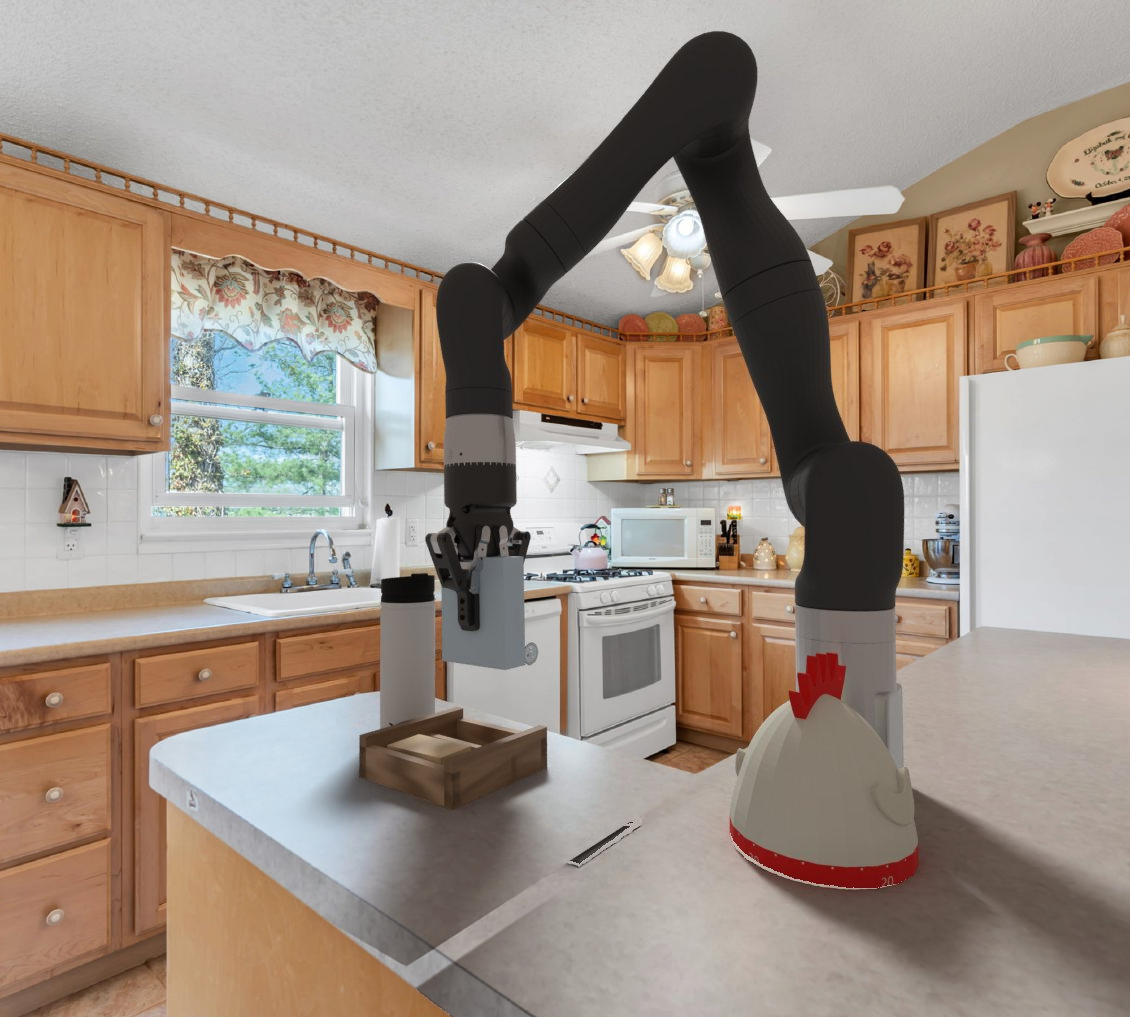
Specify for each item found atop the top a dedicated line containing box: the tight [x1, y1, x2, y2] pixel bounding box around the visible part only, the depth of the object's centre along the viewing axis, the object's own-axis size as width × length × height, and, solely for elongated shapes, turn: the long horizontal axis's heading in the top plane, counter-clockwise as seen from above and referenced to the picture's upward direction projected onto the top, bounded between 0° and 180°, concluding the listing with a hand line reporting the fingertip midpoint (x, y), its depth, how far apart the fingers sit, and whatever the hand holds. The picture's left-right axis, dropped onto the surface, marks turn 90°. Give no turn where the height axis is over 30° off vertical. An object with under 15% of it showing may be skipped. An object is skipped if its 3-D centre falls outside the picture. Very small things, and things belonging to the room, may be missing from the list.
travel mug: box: [379, 572, 436, 729], centre depth 80 cm, size 6×7×20 cm
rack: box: [358, 706, 548, 810], centre depth 68 cm, size 13×13×5 cm
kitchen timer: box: [729, 652, 920, 888], centre depth 55 cm, size 14×14×15 cm
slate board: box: [440, 556, 526, 671], centre depth 71 cm, size 9×3×11 cm, turn 53°
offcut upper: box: [387, 734, 471, 765], centre depth 66 cm, size 7×4×2 cm, turn 57°
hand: (482, 627), depth 71 cm, fingers closed on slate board, 3 cm apart
